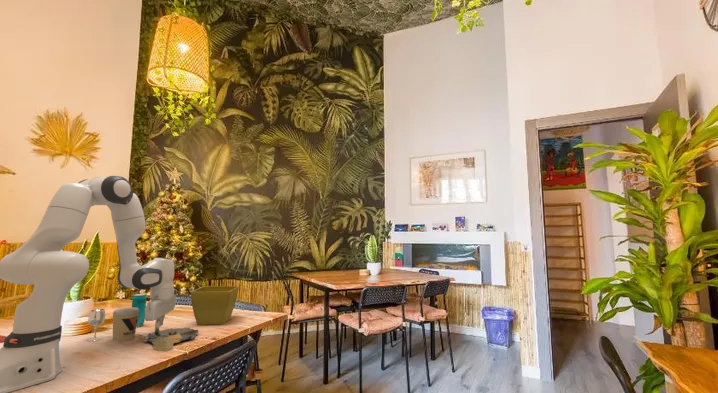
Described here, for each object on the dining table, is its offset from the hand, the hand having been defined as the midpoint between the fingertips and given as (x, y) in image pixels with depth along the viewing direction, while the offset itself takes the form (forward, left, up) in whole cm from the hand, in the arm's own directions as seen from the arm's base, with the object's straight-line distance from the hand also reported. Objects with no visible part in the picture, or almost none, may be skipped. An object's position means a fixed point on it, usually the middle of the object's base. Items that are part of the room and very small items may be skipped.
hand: (159, 326), depth 145 cm
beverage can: (+9, +24, -5) cm, 26 cm away
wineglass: (-12, +22, -5) cm, 25 cm away
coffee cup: (-7, +12, -5) cm, 14 cm away
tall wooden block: (-12, -15, -5) cm, 20 cm away
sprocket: (-1, -8, -4) cm, 9 cm away
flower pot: (+28, -5, -5) cm, 29 cm away
